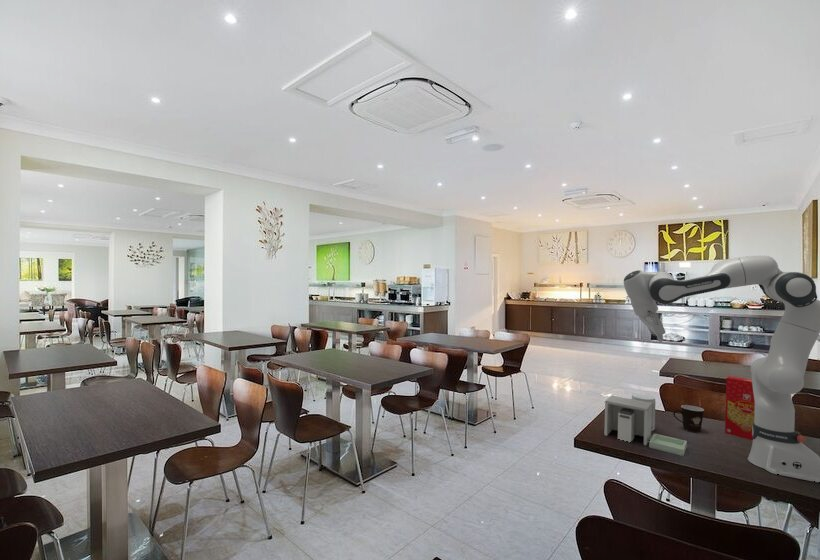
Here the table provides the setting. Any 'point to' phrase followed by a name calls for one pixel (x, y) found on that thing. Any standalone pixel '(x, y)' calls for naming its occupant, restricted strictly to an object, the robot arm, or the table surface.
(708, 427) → the table surface
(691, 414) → the coffee mug
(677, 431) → the table surface
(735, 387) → the food packaging
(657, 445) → the tray
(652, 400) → the white rounded slab
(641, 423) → the bay
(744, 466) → the table surface
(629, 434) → the white and grey box
